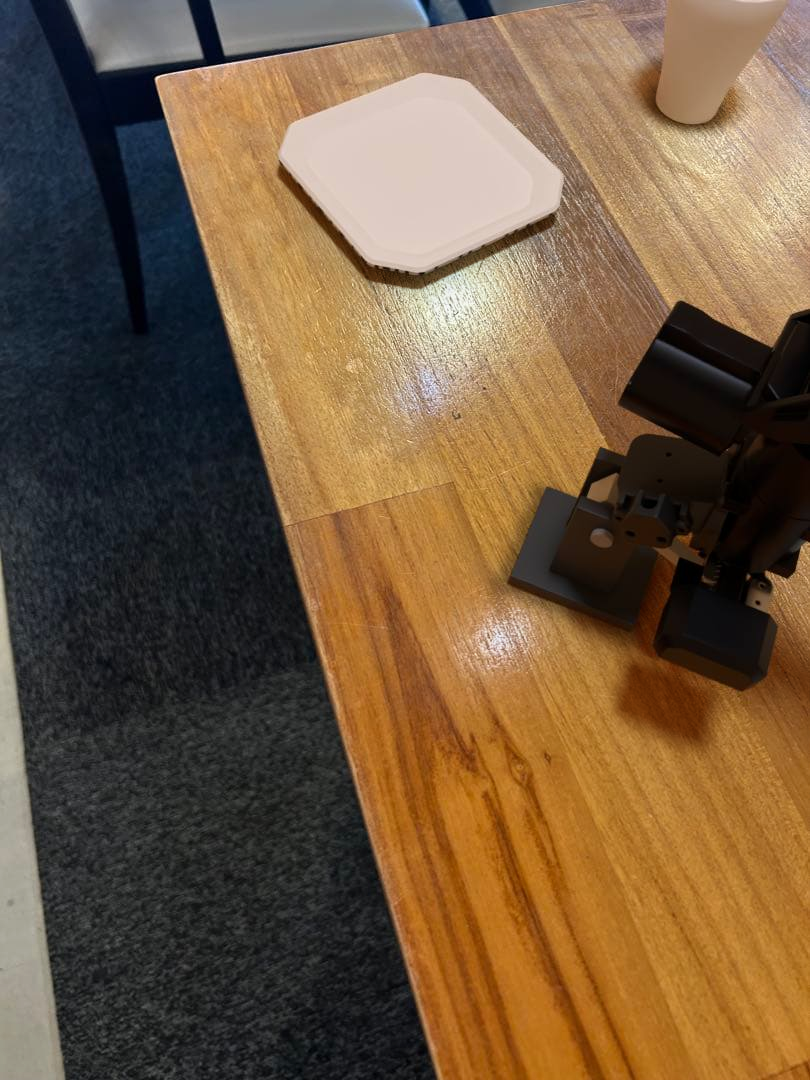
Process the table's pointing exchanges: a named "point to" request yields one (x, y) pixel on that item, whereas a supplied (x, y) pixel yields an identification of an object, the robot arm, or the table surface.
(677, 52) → the cup
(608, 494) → the switch lever
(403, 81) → the plate
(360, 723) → the table surface
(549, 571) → the switch base
